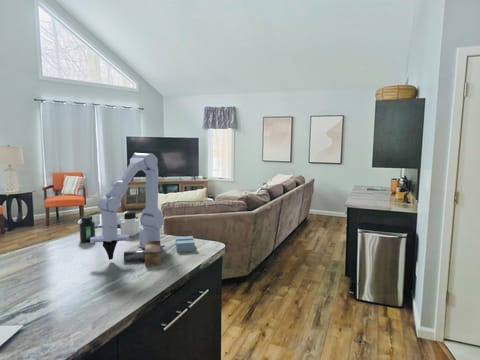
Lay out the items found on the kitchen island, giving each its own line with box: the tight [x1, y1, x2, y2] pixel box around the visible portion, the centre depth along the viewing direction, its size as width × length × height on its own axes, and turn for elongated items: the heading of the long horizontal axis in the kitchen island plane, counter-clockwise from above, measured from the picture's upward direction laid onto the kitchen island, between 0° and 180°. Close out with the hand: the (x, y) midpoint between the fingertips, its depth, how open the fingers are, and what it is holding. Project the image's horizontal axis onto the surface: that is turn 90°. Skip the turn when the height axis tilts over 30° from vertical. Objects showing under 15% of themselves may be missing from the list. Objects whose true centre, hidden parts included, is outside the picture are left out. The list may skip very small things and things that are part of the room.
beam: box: [144, 240, 162, 267], centre depth 133 cm, size 6×14×6 cm, turn 14°
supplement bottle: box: [78, 215, 96, 244], centre depth 156 cm, size 7×7×12 cm
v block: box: [175, 235, 196, 253], centre depth 148 cm, size 8×10×4 cm
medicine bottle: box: [119, 210, 140, 237], centre depth 168 cm, size 7×7×12 cm
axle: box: [123, 249, 145, 263], centre depth 133 cm, size 14×4×4 cm, turn 104°
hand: (110, 258), depth 130 cm, fingers closed
